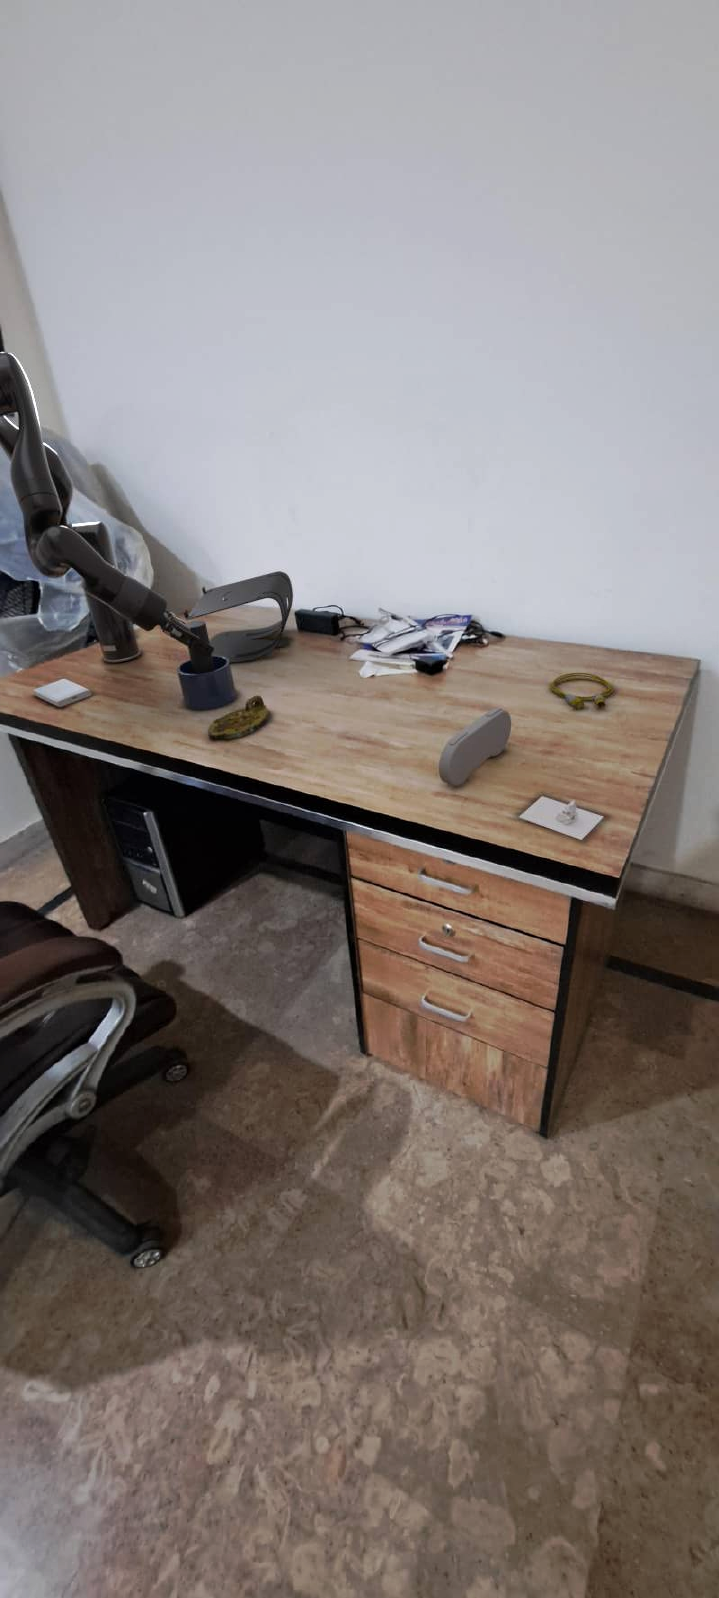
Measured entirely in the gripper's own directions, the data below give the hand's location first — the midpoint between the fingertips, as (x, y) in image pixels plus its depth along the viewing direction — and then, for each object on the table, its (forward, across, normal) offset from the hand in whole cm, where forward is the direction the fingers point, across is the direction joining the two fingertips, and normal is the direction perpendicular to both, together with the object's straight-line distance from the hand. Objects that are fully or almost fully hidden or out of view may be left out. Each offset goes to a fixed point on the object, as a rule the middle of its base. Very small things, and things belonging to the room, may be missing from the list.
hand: (208, 648), depth 143 cm
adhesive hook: (+32, -75, -16) cm, 83 cm away
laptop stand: (+19, +29, -3) cm, 35 cm away
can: (+7, 0, +9) cm, 11 cm away
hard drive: (-14, +23, +31) cm, 41 cm away
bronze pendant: (+8, -17, +8) cm, 20 cm away
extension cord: (+53, -42, -37) cm, 78 cm away
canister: (+2, 0, +4) cm, 5 cm away
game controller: (+30, -56, -14) cm, 65 cm away
